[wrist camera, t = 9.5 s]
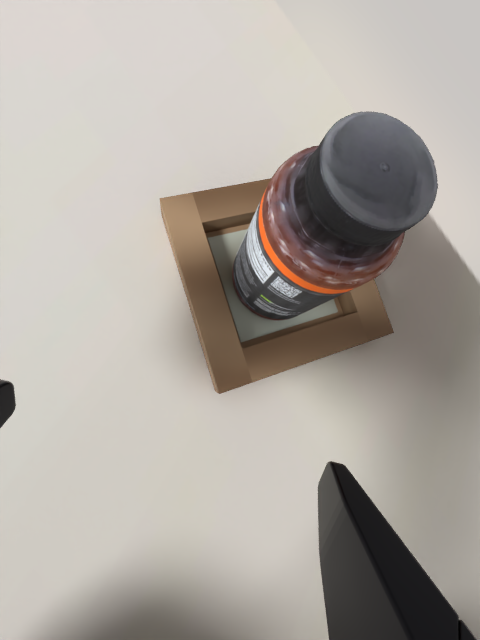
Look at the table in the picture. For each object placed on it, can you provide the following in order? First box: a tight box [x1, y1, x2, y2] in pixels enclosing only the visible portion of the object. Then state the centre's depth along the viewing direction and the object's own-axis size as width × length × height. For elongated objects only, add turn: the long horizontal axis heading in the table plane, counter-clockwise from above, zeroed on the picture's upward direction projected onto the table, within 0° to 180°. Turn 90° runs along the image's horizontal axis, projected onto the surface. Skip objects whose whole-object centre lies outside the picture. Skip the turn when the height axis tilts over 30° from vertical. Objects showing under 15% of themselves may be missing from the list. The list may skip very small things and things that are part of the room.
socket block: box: [160, 178, 394, 394], centre depth 19 cm, size 12×12×2 cm
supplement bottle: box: [232, 112, 438, 320], centre depth 14 cm, size 6×6×11 cm
